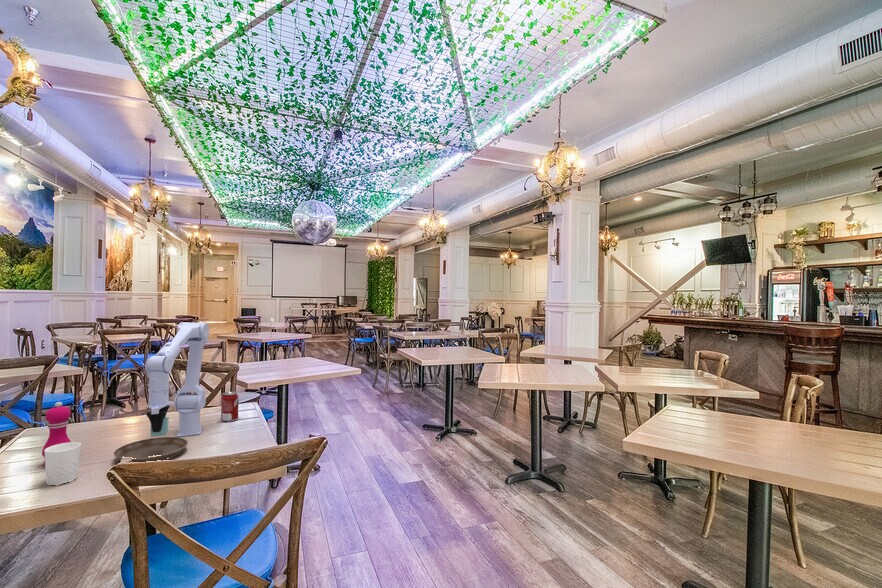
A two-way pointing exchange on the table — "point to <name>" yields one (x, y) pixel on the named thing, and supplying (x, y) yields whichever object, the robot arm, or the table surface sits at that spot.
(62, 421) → the pepper mill
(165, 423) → the block
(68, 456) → the white cup
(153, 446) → the plant saucer
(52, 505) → the table surface
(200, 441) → the table surface
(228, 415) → the soda can
